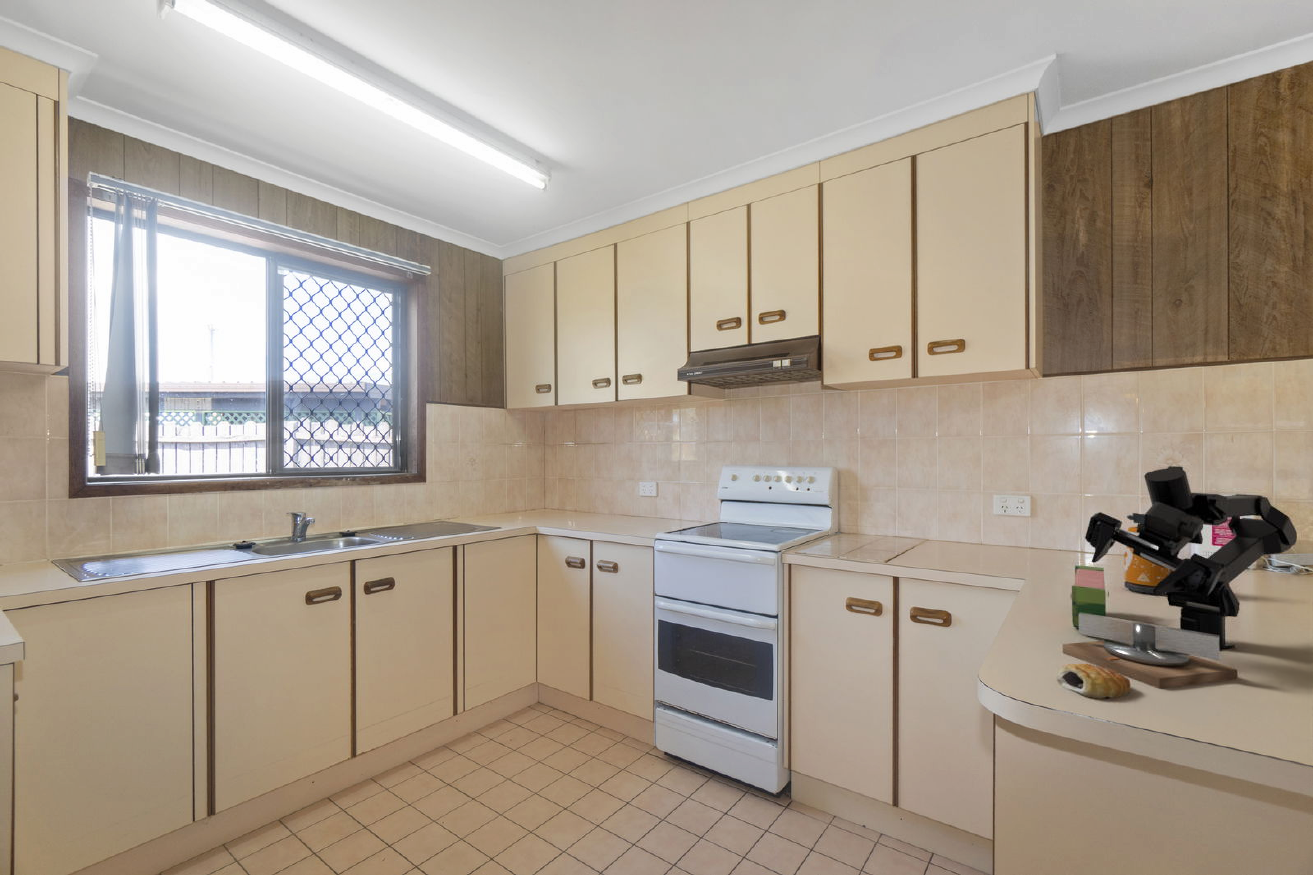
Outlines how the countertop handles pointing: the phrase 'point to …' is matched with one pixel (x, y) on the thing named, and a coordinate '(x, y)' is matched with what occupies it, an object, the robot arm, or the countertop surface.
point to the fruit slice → (1088, 592)
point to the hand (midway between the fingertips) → (1122, 575)
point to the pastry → (1093, 681)
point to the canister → (1141, 566)
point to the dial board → (1152, 667)
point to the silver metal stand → (1149, 640)
